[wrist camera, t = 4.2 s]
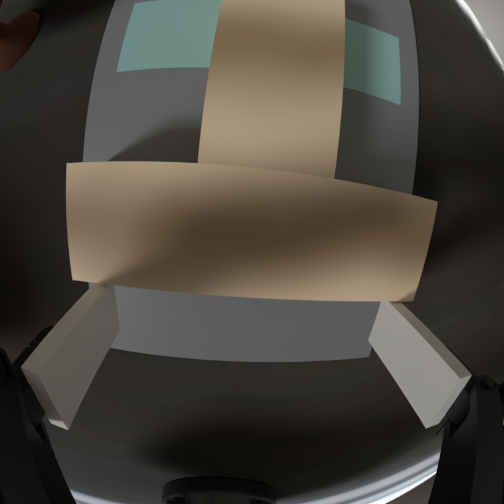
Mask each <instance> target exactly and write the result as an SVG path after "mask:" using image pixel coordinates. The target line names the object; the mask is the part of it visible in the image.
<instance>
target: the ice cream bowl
mask: <svg viewBox="0 0 504 504" xmlns="http://www.w3.org/2000/svg"><path fill="white" fill-rule="evenodd" d="M2 2H3V0H0V7H1V4H2ZM39 19H40V15H39V14H37V13H35V12H34V11H30V10H27V11H25V12H23V13H21V14H19V15H17V16H15V17H14V18H13V19H12V20H11V21H10V22H9V23H8V24H7V25H6V24H4V23H1V22H0V72H3V71H5V70H7V69H9V68H11V67H12V66H13V65H14V64H15V63H16V62H17V61H18V59H19V58H20V57H21V56H22V55H23V54H24V53H25V52H26V51H27V49H28V47H29V45H30V44H31V42H32V40H33V38H34V36H35V35H36V33H37V31H38V27H39Z"/></svg>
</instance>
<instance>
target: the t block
mask: <svg viewBox="0 0 504 504" xmlns="http://www.w3.org/2000/svg"><path fill="white" fill-rule="evenodd" d="M344 57H345V0H222V3H221V7H220V12H219V17H218V22H217V27H216V32H215V38H214V43H213V49H212V55H211V61H210V67H209V73H208V80H207V87H206V94H205V101H204V109H203V117H202V125H201V134H200V144H199V154H198V163H188V162H161V161H104V162H81V163H67V172H66V213H67V232H68V245H69V255H70V264H71V272H72V279H73V280H78V281H85V282H93V283H100V284H108V285H116V286H124V287H133V288H142V289H151V290H161V291H171V292H182V293H193V294H205V295H219V296H233V297H249V298H267V299H288V300H316V301H413V299H414V296H415V293H416V290H417V287H418V283H419V280H420V277H421V273H422V270H423V266H424V263H425V259H426V255H427V251H428V247H429V243H430V239H431V234H432V230H433V225H434V220H435V215H436V209H437V203H438V202H437V201H433V200H429V199H426V198H422V197H418V196H414V195H410V194H406V193H402V192H398V191H394V190H389V189H385V188H380V187H375V186H370V185H366V184H361V183H355V182H350V181H345V180H339V179H334V176H335V168H336V160H337V152H338V142H339V133H340V122H341V110H342V97H343V80H344Z"/></svg>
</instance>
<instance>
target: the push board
mask: <svg viewBox="0 0 504 504" xmlns="http://www.w3.org/2000/svg"><path fill="white" fill-rule="evenodd" d="M221 3H222V0H115V3H114V6H113V8H112V11H111V14H110V17H109V20H108V23H107V26H106V30H105V33H104V36H103V40H102V43H101V47H100V51H99V55H98V59H97V63H96V68H95V73H94V77H93V83H92V88H91V94H90V100H89V106H88V114H87V122H86V131H85V141H84V155H83V162H104V161H161V162H188V163H198V154H199V144H200V134H201V125H202V117H203V109H204V101H205V94H206V87H207V80H208V73H209V67H210V61H211V55H212V49H213V43H214V38H215V32H216V27H217V22H218V17H219V12H220V7H221ZM418 124H419V78H418V60H417V48H416V39H415V30H414V23H413V17H412V11H411V5H410V0H345V57H344V80H343V97H342V110H341V122H340V133H339V142H338V152H337V160H336V168H335V176H334V179H339V180H345V181H350V182H355V183H361V184H366V185H370V186H375V187H380V188H385V189H389V190H394V191H398V192H402V193H406V194H410V195H412V191H413V183H414V175H415V166H416V156H417V143H418ZM93 285H94V283H93V282H89V289H90V288H91V287H92V286H93ZM114 289H115V297H116V305H117V312H118V319H119V325H120V330H119V332H118V334H117V336H116V337H115V339H114V341H113V343H112V345H111V346H110V348H115V349H120V350H127V351H133V352H140V353H147V354H154V355H163V356H171V357H181V358H192V359H205V360H221V361H245V362H301V361H324V360H340V359H353V358H363V357H369V354H370V352H371V349H372V345H371V344H370V342H369V341H368V339H369V336H370V334H371V331H372V328H373V325H374V322H375V319H376V316H377V313H378V310H379V307H380V304H381V301H316V300H288V299H267V298H249V297H233V296H219V295H205V294H193V293H182V292H171V291H161V290H151V289H142V288H133V287H124V286H116V285H114Z"/></svg>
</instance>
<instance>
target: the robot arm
mask: <svg viewBox="0 0 504 504" xmlns="http://www.w3.org/2000/svg"><path fill="white" fill-rule="evenodd" d="M119 330H120V325H119V319H118V312H117V305H116V297H115V289H114V285H108V284H100V283H94V285H93V286H92V287H91V288H90V289H89V290H88V291H87V292H86V293H85V294H84V295H83V296H82V297H81V298H80V299H79V300H78V301H77V302H76V303H75V304H74V305H73V306H72V308H71V309H70V310H69V311H68V312H67V313H66V314H65V315H64V316H63V317H62V319H61V320H60V321H59V322H58V323H57V324H56V325H55V326H54V327H53V326H49V327H47V328H45V329H44V330H42V331H40V332H39V334H38V335H37V336H36V337H35V338H34V341H33V340H32V341H31V343H30V344H29V346H28V347H26V348H25V350H24V351H23V352H22V353H21V354H20V356H19V357H18V358H17V359H16V360H15V362H14V363H13V364H12V365H11V363H10V361H9V358H8V356H7V354H6V351H5V350H4V349H2V348H0V504H76V502H75V500H74V498H73V496H72V494H71V492H70V490H69V488H68V485H67V483H66V481H65V479H64V477H63V474H62V472H61V470H60V467H59V465H58V462H57V460H56V457H55V454H54V452H53V449H52V446H51V443H50V440H49V437H48V434H47V431H46V428H45V425H44V423H43V421H42V419H43V417H44V415H45V414H46V416H47V417H48V419H49V420H50V422H51V423H52V424H54V425H57V426H59V427H62V428H64V429H67V430H69V427H70V425H71V423H72V421H73V419H74V416H75V414H76V412H77V410H78V408H79V406H80V404H81V402H82V400H83V398H84V396H85V394H86V392H87V390H88V388H89V386H90V384H91V382H92V380H93V378H94V376H95V374H96V372H97V370H98V368H99V366H100V365H101V363H102V361H103V359H104V357H105V355H106V354H107V352H108V350H109V348H110V346H111V345H112V343H113V341H114V339H115V337H116V336H117V334H118V332H119ZM368 341H369V342H370V344H371V345H372V347H373V348H374V350H375V351H376V353H377V354H378V356H379V357H380V358H381V360H382V361H383V363H384V364H385V366H386V367H387V369H388V370H389V372H390V373H391V375H392V376H393V378H394V379H395V381H396V382H397V384H398V385H399V387H400V388H401V390H402V391H403V393H404V395H405V396H406V398H407V399H408V401H409V402H410V404H411V405H412V407H413V409H414V410H415V412H416V413H417V415H418V417H419V418H420V420H421V421H422V423H423V425H424V426H425V428H429V427H431V426H434V425H436V424H439V422H440V421H441V420H442V418H443V417H444V416H445V414H447V416H448V417H449V419H448V420H447V421H446V422H445V424H444V425H443V426H442V428H441V429H440V430H439V431H438V432H437V435H436V436H437V437H438V436H439V435H440V434H441V432H442V431H444V434H443V435H442V436H441V438H443V441H442V447H441V453H440V458H439V463H438V468H437V472H436V477H435V480H434V484H433V488H432V492H431V495H430V498H429V502H428V504H504V426H503V420H504V382H503V384H496V382H495V381H494V380H493V379H491V378H490V377H488V376H484V375H481V376H478V377H476V376H475V375H474V374H473V373H472V372H471V371H470V370H469V369H468V367H467V366H466V365H465V364H464V363H463V362H462V361H461V360H460V359H459V358H458V357H457V356H456V355H455V354H454V353H453V352H452V350H451V349H450V348H449V347H448V346H446V345H445V344H443V343H442V342H441V341H440V340H439V339H438V338H437V337H436V336H435V335H434V334H433V333H432V332H431V331H430V330H429V329H428V328H427V327H426V326H425V325H424V324H423V323H422V322H421V321H420V320H419V319H418V318H417V317H416V316H415V315H414V314H412V313H411V312H410V311H409V310H408V309H407V308H406V307H405V306H404V305H403V304H402V303H401V302H400V301H381V304H380V307H379V310H378V313H377V316H376V319H375V322H374V325H373V328H372V331H371V334H370V336H369V339H368ZM162 503H163V504H276V500H275V493H274V490H273V489H272V488H270V487H269V486H266V485H264V484H260V483H256V482H251V481H245V480H236V479H223V478H192V479H182V480H176V481H172V482H169V483H167V484H166V485H165V486H164V487H163V494H162Z"/></svg>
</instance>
